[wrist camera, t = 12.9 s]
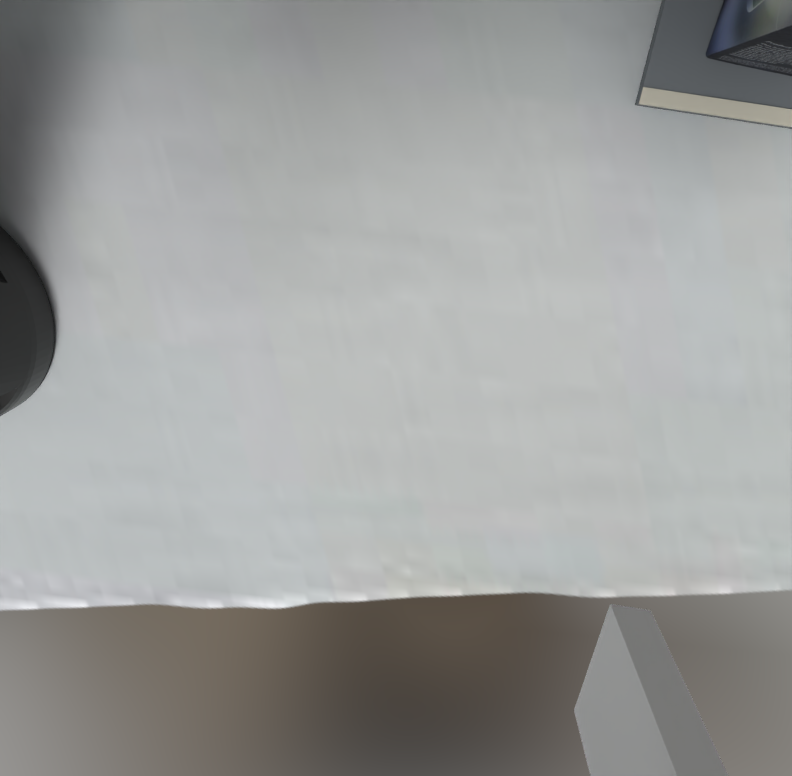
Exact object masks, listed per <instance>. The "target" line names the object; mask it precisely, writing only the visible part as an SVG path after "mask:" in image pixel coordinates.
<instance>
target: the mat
mask: <svg viewBox="0 0 792 776" xmlns="http://www.w3.org/2000/svg"><path fill="white" fill-rule="evenodd" d="M723 2H724V0H662V3H661V7H660V11H659V15H658V19H657V23H656V26H655V30H654V34H653V38H652V42H651V46H650V49H649V53H648V57H647V61H646V65H645V69H644V72H643V76H642V80H641V84H640V88H639V92H638V95H637V99H636V103H635V105H638V106H645V107H651V108H658V109H665V110H671V111H678V112H685V113H691V114H698V115H704V116H711V117H718V118H724V119H731V120H738V121H744V122H751V123H757V124H764V125H771V126H777V127H784V128H790V129H792V76H788V75H783V74H779V73H773V72H768V71H763V70H759V69H754V68H749V67H745V66H741V65H735V64H731V63H726V62H722V61H718V60H713V59H710V58H707V57H706V51H707V48H708V46H709V42H710V39H711V37H712V34H713V31H714V28H715V25H716V22H717V19H718V16H719V13H720V10H721V8H722V5H723Z"/></svg>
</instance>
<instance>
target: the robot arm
mask: <svg viewBox="0 0 792 776" xmlns="http://www.w3.org/2000/svg"><path fill="white" fill-rule="evenodd" d="M53 347H54V325H53V317H52V312H51V308H50V304H49V300H48V297H47V294H46V292H45V289H44V287H43V284H42V282H41V280H40V278H39V276H38V274H37V272H36V270H35V269H34V267H33V265H32V264H31V262H30V261H29V259H28V258H27V256H26V255H25V254H24V252H23V251H22V250H21V248H20V247H19V246H18V245H17V243H16V242H15V241H14V240H13V239H12V238H11V237H10V236H9V235H8V234H7V233H6V232H5V231H4V230H3V229H2V228H1V227H0V416H1V415H3V414H5V413H7V412H8V411H10V410H12V409H13V408H15V407H17V406H18V405H20V404H21V403H23V402H24V401H25V400H27V399H28V398H29V397H30V396H31V395H32V394H33V393H34V392H35V391H36V389H37V388H38V387H39V385H40V384H41V382H42V381H43V379H44V377H45V375H46V373H47V371H48V368H49V365H50V362H51V358H52V354H53ZM574 712H575V716H576V719H577V724H578V728H579V732H580V736H581V740H582V744H583V748H584V752H585V756H586V760H587V764H588V768H589V772H590V776H729V775H728V773H727V771H726V769H725V767H724V765H723V762H722V761H721V758H720V756H719V754H718V752H717V750H716V748H715V745H714V743H713V741H712V739H711V737H710V735H709V733H708V731H707V728H706V726H705V724H704V722H703V720H702V718H701V716H700V714H699V712H698V709H697V707H696V705H695V703H694V701H693V699H692V697H691V695H690V693H689V690H688V688H687V686H686V684H685V682H684V680H683V678H682V676H681V673H680V671H679V669H678V667H677V665H676V663H675V661H674V659H673V657H672V654H671V652H670V650H669V648H668V646H667V644H666V642H665V640H664V637H663V635H662V634H661V631H660V629H659V627H658V625H657V623H656V621H655V618H654V616H653V614H652V612H651V611H650V610H645V609H639V608H633V607H626V606H620V605H613V604H610V607H609V609H608V612H607V616H606V618H605V622H604V624H603V627H602V630H601V633H600V636H599V639H598V642H597V645H596V648H595V650H594V654H593V656H592V659H591V662H590V665H589V668H588V671H587V674H586V677H585V680H584V683H583V686H582V689H581V691H580V694H579V697H578V700H577V703H576V706H575V709H574Z"/></svg>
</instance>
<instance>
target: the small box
mask: <svg viewBox="0 0 792 776" xmlns="http://www.w3.org/2000/svg"><path fill="white" fill-rule="evenodd" d="M706 57H707V58H710V59H713V60H718V61H722V62H726V63H731V64H735V65H741V66H745V67H749V68H754V69H759V70H763V71H768V72H773V73H779V74H783V75H788V76H792V0H724V2H723V5H722V8H721V10H720V13H719V16H718V19H717V22H716V25H715V28H714V31H713V34H712V37H711V39H710V42H709V46H708V48H707V51H706Z"/></svg>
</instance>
